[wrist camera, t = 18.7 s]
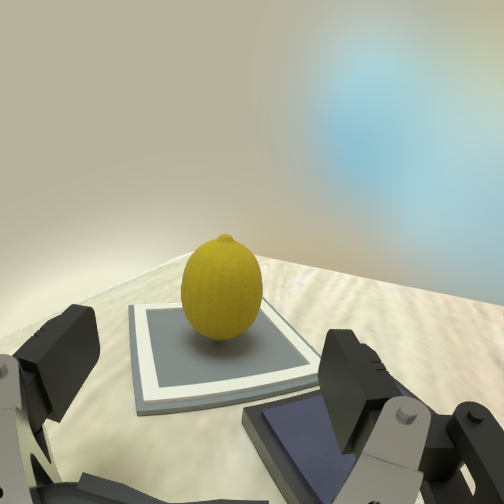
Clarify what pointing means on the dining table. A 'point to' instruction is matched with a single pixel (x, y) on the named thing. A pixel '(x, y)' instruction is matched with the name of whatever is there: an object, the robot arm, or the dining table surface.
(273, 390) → the marked board
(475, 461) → the robot arm
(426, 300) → the dining table surface
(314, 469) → the ink pad
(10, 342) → the dining table surface
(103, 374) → the dining table surface
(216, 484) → the dining table surface
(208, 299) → the lemon
